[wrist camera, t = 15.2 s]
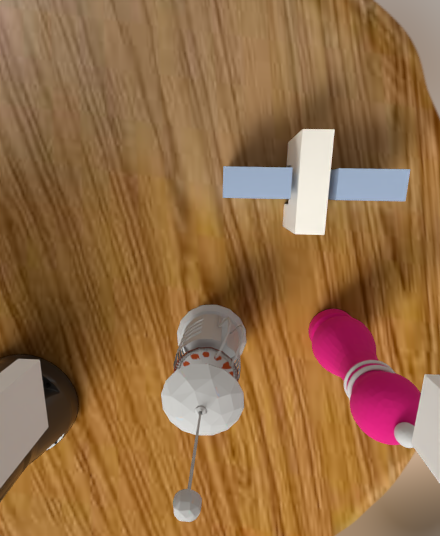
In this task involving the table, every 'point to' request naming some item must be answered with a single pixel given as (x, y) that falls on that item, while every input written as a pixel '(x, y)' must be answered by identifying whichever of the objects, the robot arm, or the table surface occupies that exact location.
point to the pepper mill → (365, 378)
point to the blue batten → (340, 187)
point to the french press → (204, 384)
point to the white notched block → (309, 181)
